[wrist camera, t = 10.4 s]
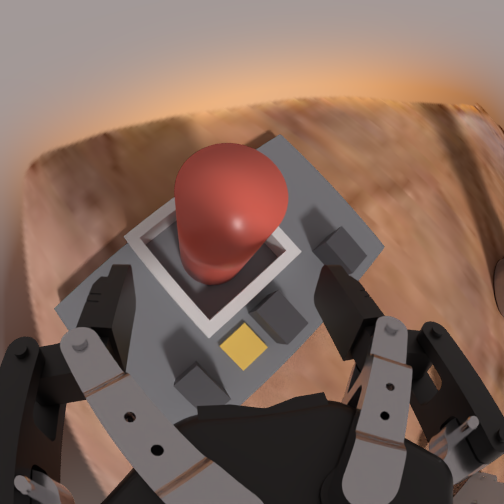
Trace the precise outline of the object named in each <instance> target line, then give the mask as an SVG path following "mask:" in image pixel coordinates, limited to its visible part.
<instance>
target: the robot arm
mask: <svg viewBox="0 0 504 504" xmlns="http://www.w3.org/2000/svg"><path fill="white" fill-rule="evenodd" d="M494 287H495V295H496V301H497V304H498V308H499V310H500V312H501V314H502V315H503V317H504V259H501V260H499V261H498V263H497V265H496V269H495V277H494ZM369 296H370V295H369V294H368V293H367V291H365V289H364V287H363V286H362V285H361V284H360V282H359V281H357V280H356V279H354V278H353V277H352V276H349V275H348V274H347V272H346V271H345V270H344V268H343V267H342V266H341V265H324V266H323V267H322V269H321V272H320V275H319V279H318V282H317V286H316V289H315V293H314V304H315V307H316V309H317V311H318V313H319V315H320V317H321V319H322V321H323V322H324V324H325V326H326V328H327V330H328V332H329V334H330V336H331V338H332V340H333V342H334V344H335V346H336V348H337V349H338V351H339V353H340V355H341V357H342V359H343V361H346V360H351V359H354V360H355V364H354V365H353V368H352V371H351V375H350V378H349V381H348V384H347V388H346V391H345V394H344V397H343V400H342V402H341V403H340V402H336V401H328V400H327V399H326V396H325V394H324V392H322V393H317V394H311V395H305V396H299V397H294V398H292V399H289V400H287V401H284V402H282V403H279V404H277V405H274V406H271V407H268V408H255V407H247V406H239V405H232V404H227V405H207V406H197V413H198V414H197V415H193V416H190V417H187V418H185V419H182V420H180V421H179V422H177V423H175V424H174V425H173V424H172V423H171V422H170V421H169V420H168V419H167V418H166V417H165V416H164V415H163V413H162V412H161V411H160V410H159V409H158V408H157V407H156V405H155V404H154V403H153V402H152V401H151V400H150V398H149V397H148V396H147V395H146V394H145V392H144V391H143V390H142V389H141V388H140V386H139V385H138V384H137V383H136V381H135V380H134V379H133V377H132V376H131V375H130V374H129V373H127V372H126V367H127V360H128V353H129V346H130V340H131V334H132V328H133V322H134V317H135V311H136V294H135V287H134V280H133V273H132V267H131V265H130V264H113V265H112V267H111V269H110V272H109V275H108V277H103V276H101V277H100V278H99V279H98V280H97V281H95V282H94V283H93V285H92V287H91V290H90V292H89V295H88V297H87V300H86V302H85V305H84V307H83V310H82V312H81V315H80V318H79V321H78V323H77V326H76V328H74V329H72V330H70V331H68V332H67V333H66V334H65V335H64V336H63V337H62V339H61V342H60V343H58V344H54V345H48V346H43V347H39V345H38V343H37V342H36V340H34V339H33V338H31V337H21V338H18V339H16V340H14V341H13V342H12V343H11V344H10V345H9V347H8V349H7V351H6V353H5V356H4V358H3V361H2V364H1V367H0V504H75V502H74V499H73V496H72V494H71V493H70V492H69V491H68V489H67V488H66V487H64V486H63V485H61V484H60V467H61V449H62V435H63V426H64V418H65V410H66V403H70V402H76V401H81V400H86V399H87V401H88V403H89V404H90V406H91V408H92V409H93V411H94V413H95V414H96V416H97V417H98V419H99V421H100V422H101V424H102V425H103V427H104V428H105V430H106V431H107V433H108V434H109V435H110V437H111V438H112V440H113V441H114V443H115V444H116V445H117V447H118V448H119V449H120V451H121V452H122V453H123V455H124V456H125V457H126V459H127V460H128V461H129V462H130V464H131V465H132V466H133V467H134V468H133V469H132V470H131V471H130V472H129V473H128V474H127V476H126V477H125V478H124V479H123V480H122V481H121V482H120V483H119V484H118V486H117V487H116V488H115V489H114V490H113V491H112V492H111V493H110V494H109V495H108V496H107V498H106V499H105V500H104V501H103V502H102V503H101V504H453V485H454V484H458V483H460V482H462V481H463V480H465V479H467V478H468V477H470V476H472V475H473V474H475V473H476V472H478V471H479V470H481V469H483V468H484V467H486V466H487V465H489V464H490V463H491V462H493V461H494V460H496V459H497V458H498V457H500V456H501V455H503V454H504V417H503V415H502V413H501V411H500V410H499V408H498V406H497V405H496V403H495V401H494V400H493V398H492V396H491V395H490V393H489V391H488V390H487V388H486V387H485V385H484V383H483V382H482V380H481V379H480V377H479V376H478V374H477V373H476V371H475V370H474V368H473V367H472V365H471V364H470V362H469V361H468V359H467V358H466V357H465V355H464V354H463V352H462V351H461V350H460V348H459V347H458V345H457V344H456V343H455V341H454V340H453V338H452V337H451V336H450V334H449V333H448V332H447V330H446V329H445V328H444V327H443V326H441V325H440V324H438V323H435V322H426V323H424V325H423V326H422V328H421V330H420V331H416V330H407V328H406V326H405V325H404V324H403V323H402V322H401V321H400V320H398V319H396V318H394V317H391V316H385V315H384V314H383V313H382V311H381V310H380V309H379V307H378V306H377V305H376V303H375V302H374V301H373V299H372V298H371V297H369ZM432 364H433V365H434V367H435V369H436V370H437V372H438V374H439V375H440V377H441V379H442V386H441V389H440V390H439V391H438V390H437V388H436V386H435V385H434V383H433V381H432V379H431V378H430V376H429V374H428V373H427V371H428V370H429V368H430V367H431V366H432ZM409 403H410V405H411V407H412V409H413V411H414V413H415V415H416V417H417V419H418V421H419V423H420V425H421V427H422V430H423V432H424V434H425V436H426V438H427V440H428V442H429V451H428V450H426V449H424V448H422V447H420V446H418V445H416V444H415V443H413V442H411V441H409V440H408V439H406V438H405V432H406V425H407V419H408V411H409Z"/></svg>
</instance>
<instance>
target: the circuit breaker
mask: <svg viewBox="0 0 504 504" xmlns="http://www.w3.org/2000/svg"><path fill="white" fill-rule="evenodd" d="M483 476H484V477H483ZM453 504H504V483H501V482H497V476H496V475H492V474H488V473H484V472H482V473H480V472H476V473H475V474H473V475H472V477H470V478H469V479H468V481H467V482H466V483H465V484H464V485H463V487H462V488H461V489H460V490H459V491H458V493H457V494H456V495H455V496H454V497H453Z"/></svg>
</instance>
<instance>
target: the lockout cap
mask: <svg viewBox="0 0 504 504" xmlns="http://www.w3.org/2000/svg"><path fill="white" fill-rule="evenodd" d="M174 195H175V207H176V219H177V229H178V239H179V248H180V257H181V262H182V265H183V267H184V269H185V271H186V272H187V274H188V275H189V276H190V277H191V278H193V279H194V280H196V281H197V282H200V283H202V284H206V285H220V284H223V283H226V282H228V281H229V280H231V279H232V278H234V277H235V275H236V274H237V273H238V272H239V271H240V270H241V269H242V268H243V266H244V265H245V264H246V263H247V262H248V261H249V260H250V258H251V257H252V256H253V255H254V254H255V253H256V251H257V250H258V249H259V248H260V247H261V246H262V245H263V243H264V242H265V241H266V240H267V239H268V238H269V237H270V235H271V234H272V233H273V232H274V231H275V230H276V228H277V227H278V226H279V225H280V223H281V222H282V220H283V218H284V216H285V213H286V211H287V206H288V189H287V185H286V182H285V179H284V177H283V175H282V173H281V171H280V170H279V169H278V167H277V166H276V165H275V164H274V163H273V161H271V160H270V159H269V158H268V157H267V156H265V155H264V154H263V153H261V152H259V151H257V150H256V149H253V148H251V147H248V146H245V145H240V144H234V143H221V144H215V145H211V146H208V147H205V148H203V149H201V150H199V151H197V152H196V153H194V154H193V155H192V156H190V157H189V158H188V159H187V160H186V162H185V163H184V164H183V165H182V167H181V169H180V170H179V172H178V175H177V177H176V181H175V188H174Z"/></svg>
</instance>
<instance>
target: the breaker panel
mask: <svg viewBox="0 0 504 504" xmlns="http://www.w3.org/2000/svg"><path fill="white" fill-rule="evenodd" d="M256 150H257V151H259V152H261V153H263V154H264V155H265V156H267V157H268V158H269V159H270V160H271V161H273V163H274V164H275V165H276V166H277V167H278V169H279V170H280V171H281V173H282V175H283V177H284V179H285V182H286V185H287V189H288V206H287V211H286V213H285V216H284V218H283V220H282V222H281V223H280V225H279V226H278V227H277V228H276V230H275V231H274V232H273V233H272V234H271V235H270V237H269V238H268V239H267V240H266V241H265V242H264V243H263V245H262V246H261V247H260V248H259V249H258V250H257V251H256V253H255V254H254V255H253V256H252V257H251V258H250V260H249V261H248V262H247V263H246V264H245V265H244V266H243V268H242V269H241V270H240V271H239V272H238V273H237V274H236V275H235V277H234V278H232V279H231V280H229V281H228V282H226V283H223V284H220V285H206V284H202V283H200V282H197V281H196V280H194V279H193V278H191V277H190V276H189V275H188V274H187V272H186V271H185V269H184V267H183V265H182V262H181V257H180V248H179V239H178V229H177V219H176V207H175V197H174V198H172V199H171V200H170V201H168V202H167V203H166V204H164V205H163V206H162V207H160V208H159V209H158V210H156V211H155V212H154V213H152V214H151V215H150V216H149V217H147V218H146V219H145V220H143V221H142V222H141V223H140V224H138V225H137V226H136V227H135V228H133V229H132V230H131V231H130V232H128V233H127V234H126V235H125V236H124V238H125V239H126V241H127V242H128V243H127V244H126V245H125V246H123V247H122V248H121V249H120V250H119V251H117V252H116V253H115V254H114V255H113V256H111V257H110V258H109V259H108V260H107V261H106V262H104V263H103V264H102V265H101V266H100V267H99V268H98V269H96V270H95V271H94V272H93V273H92V274H91V275H90V276H89V277H87V278H86V279H85V280H84V281H83V282H82V283H81V284H80V285H79V286H78V287H76V288H75V289H74V290H73V291H72V292H71V293H70V294H69V295H68V296H67V297H66V298H65V299H64V300H63V301H62V302H60V303H59V304H58V305H57V306H56V307H55V308H54V309H55V311H56V312H57V314H58V315H59V317H60V318H61V320H62V321H63V323H64V324H65V326H66V327H67V329H68V330H69V331H70V330H72V329H74V328H76V326H77V323H78V321H79V318H80V315H81V312H82V310H83V307H84V305H85V302H86V300H87V297H88V295H89V292H90V290H91V287H92V285H93V283H94V282H95V281H97V280H98V279H99V278H100V277H101V276H103V277H108V275H109V272H110V269H111V267H112V265H113V264H130V265H131V267H132V273H133V280H134V287H135V294H136V311H135V317H134V322H133V328H132V334H131V340H130V346H129V353H128V360H127V367H126V372H127V373H129V374H130V375H131V376H132V377H133V379H134V380H135V381H136V383H137V384H138V385H139V386H140V388H141V389H142V390H143V391H144V392H145V394H146V395H147V396H148V397H149V398H150V400H151V401H152V402H153V403H154V404H155V405H156V407H157V408H158V409H159V410H160V411H161V412H162V413H163V415H164V416H165V417H166V418H167V419H168V420H169V421H170V422H171V423H172V424H173V425H174V424H175V423H177V422H179V421H180V420H182V419H185V418H187V417H190V416H193V415H197V414H198V413H197V406H207V405H227V404H232V405H239V406H240V405H241V404H242V403H243V402H244V401H245V400H247V399H248V398H249V397H250V396H251V395H252V394H253V393H254V392H255V391H256V390H257V389H258V388H259V387H260V386H261V385H263V384H264V383H265V382H266V381H267V380H268V379H269V378H270V377H271V376H272V375H273V374H274V373H275V372H276V371H277V370H278V369H279V368H280V367H281V366H282V365H283V364H284V363H285V362H286V361H287V360H288V359H289V358H290V357H291V356H292V355H293V354H294V353H295V352H296V351H297V350H298V349H299V347H300V346H301V345H302V344H303V343H304V342H305V341H306V340H307V339H308V338H309V337H310V336H311V335H312V334H313V332H314V331H315V330H316V329H317V328H318V327H319V326H320V325H321V324H322V323H323V321H322V319H321V317H320V315H319V313H318V311H317V309H316V307H315V304H314V293H315V289H316V286H317V282H318V279H319V275H320V272H321V269H322V267H323V266H324V265H341V266H342V267H343V268H344V270H345V271H346V272H347V274H348V275H349V276H352V277H353V278H354V279H356V280H357V281H358V280H359V279H360V278H361V277H362V276H363V274H364V273H365V272H366V271H367V269H368V268H369V267H370V265H371V264H372V263H373V262H374V260H375V259H376V258H377V256H378V255H379V254H380V253H381V251H382V250H383V249H384V245H383V244H382V243H381V242H380V240H379V239H378V238H377V237H376V235H375V234H374V233H373V232H372V231H371V229H370V228H369V227H368V226H367V225H366V224H365V222H364V221H363V220H362V219H361V218H360V217H359V215H358V214H357V213H356V212H355V211H354V210H353V209H352V207H351V206H350V205H349V204H348V203H347V202H346V201H345V200H344V198H343V197H342V196H341V195H340V194H339V193H338V192H337V191H336V190H335V189H334V188H333V187H332V185H331V184H330V183H329V182H328V181H327V180H326V179H325V178H324V177H323V176H322V175H321V174H320V173H319V172H318V171H317V170H316V169H315V168H314V167H313V166H312V165H311V164H310V163H309V162H308V161H307V160H306V159H305V158H304V157H303V156H302V155H301V154H300V153H299V152H298V151H297V150H296V149H295V148H294V147H293V146H292V145H291V144H290V143H289V142H288V141H287V140H286V139H285V138H284V137H283V136H282V135H281V134H280V135H278V136H276V137H275V138H273V139H272V140H270V141H268V142H267V143H265V144H264V145H262V146H261V147H259V148H257V149H256Z"/></svg>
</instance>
